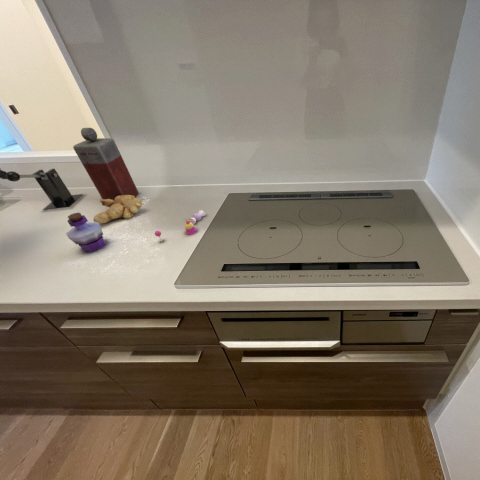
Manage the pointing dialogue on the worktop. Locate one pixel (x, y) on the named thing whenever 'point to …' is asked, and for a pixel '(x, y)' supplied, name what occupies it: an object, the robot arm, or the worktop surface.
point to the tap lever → (24, 176)
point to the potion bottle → (85, 233)
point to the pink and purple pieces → (189, 223)
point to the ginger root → (118, 208)
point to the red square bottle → (105, 165)
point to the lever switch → (56, 190)
